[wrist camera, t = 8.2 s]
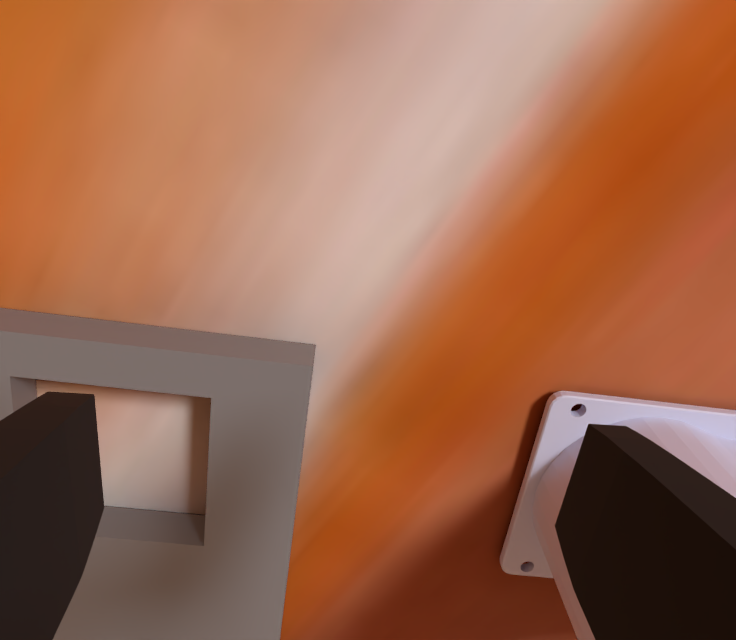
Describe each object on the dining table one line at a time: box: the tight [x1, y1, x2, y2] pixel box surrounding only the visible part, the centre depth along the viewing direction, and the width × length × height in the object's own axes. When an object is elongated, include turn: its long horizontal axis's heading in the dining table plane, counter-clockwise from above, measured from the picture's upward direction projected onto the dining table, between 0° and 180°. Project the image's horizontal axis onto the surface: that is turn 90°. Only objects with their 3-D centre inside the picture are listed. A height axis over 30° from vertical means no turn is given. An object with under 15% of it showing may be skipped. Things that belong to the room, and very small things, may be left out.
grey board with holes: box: [0, 308, 316, 640], centre depth 23 cm, size 12×23×2 cm, turn 172°
